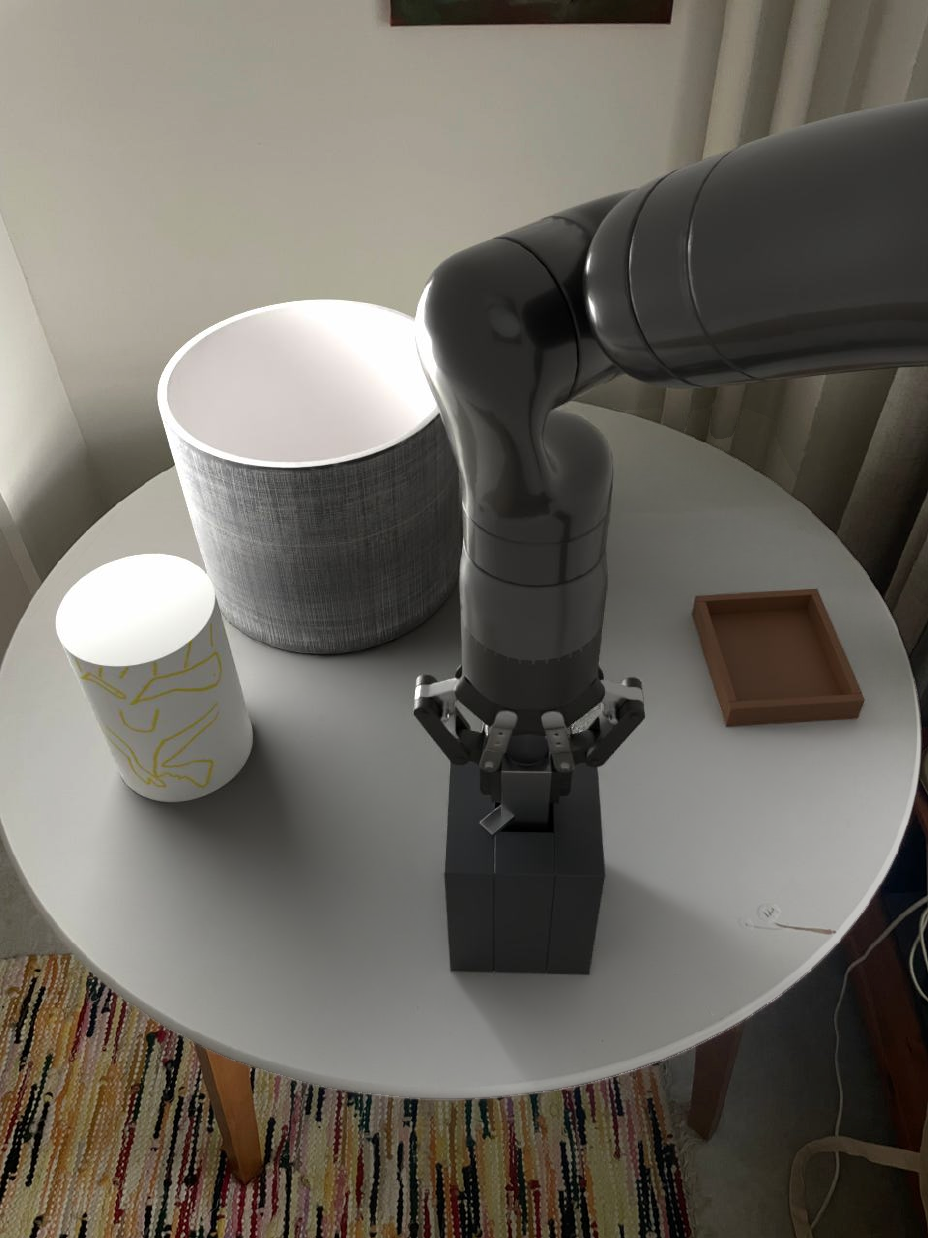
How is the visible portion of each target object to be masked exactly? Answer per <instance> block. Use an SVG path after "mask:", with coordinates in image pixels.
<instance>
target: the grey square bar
mask: <svg viewBox="0 0 928 1238" xmlns="http://www.w3.org/2000/svg"><path fill="white" fill-rule="evenodd" d="M551 773H552V771H551V754H550V751H549V746H548V742H547V738H546V736H538V735H532V734H524V735H517V736H511V738H510V741H509V744H508V747H507V750H506V753H505V754H503V756H502V777H501V805H500V806H499V807H497V808H496V809H495V810H494V811H493V812H491V813H490V814H489V815H488V816H487V817H485V818H484V819H483V820H482V821H481V822H480V823H479V826H480V827H481V828H482V829H483V830H484V831H485V832H486V833H487V834H488V835H489V836H491V837H492V838H493V837H494V836H495V835H496V834H498V833H499V832H500V831H501V832H547V830H548V816H549V801H550V787H551Z"/></svg>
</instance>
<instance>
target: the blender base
mask: <svg viewBox="0 0 928 1238" xmlns="http://www.w3.org/2000/svg"><path fill="white" fill-rule="evenodd" d="M500 805H501V803H499V802H491V795H483V794H482V792H481V791H480V767H479V766H478V764H476V763H475V762H472V761H469V762H468V763H467V764H464V765H455V764H453V763H451V762H450V761H449V770H448V789H447V807H446V808H447V809H446V825H445V827H446V828H445V845H444V846H445V847H444V866H443V868H444V869H443V870H444V871H443V879H444V892H445V893H444V894H445V909H446V921H447V922H446V923H447V924H446V925H447V940H448V955H449V970H450V972H452V973H490V974H491V973H500V974H501V973H502V974H503V973H506V974H548V975H582V976H583V975H586V976H587V975H588V976H589V975H590V974H591V968H592V962H593V955H594V949H595V943H596V936H597V931H598V926H599V925H598V924H599V917H600V911H601V906H602V900H603V899H602V898H603V893H604V887H605V881H606V865H605V864H606V863H605V852H604V851H605V849H604V838H603V837H604V836H603V823H602V822H603V821H602V808H601V793H600V779H599V767H589V766H587V765H586V763H585V762H584V763H580V764H577V765H576V766H575V768H574V770H573V771H572V782H571V792H570V793H569V794H568V795H567V796H560V798H559V804H558V803H549V816H548V830H547V832H501V831H500V832H499V833H498V834H496V835H495V836H494V837H493V838H492V837H491V836H489V835H488V834H487V833H486V832H485V831H484V830H483V829H482V828H481V827H480V826H479V823H480V822H481V821H482V820H483V819H484V818H485V817H487V816H488V815H489V814H490V813H491V812H493V811H494V810H495V809H496V808H497V807H499V806H500Z"/></svg>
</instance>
